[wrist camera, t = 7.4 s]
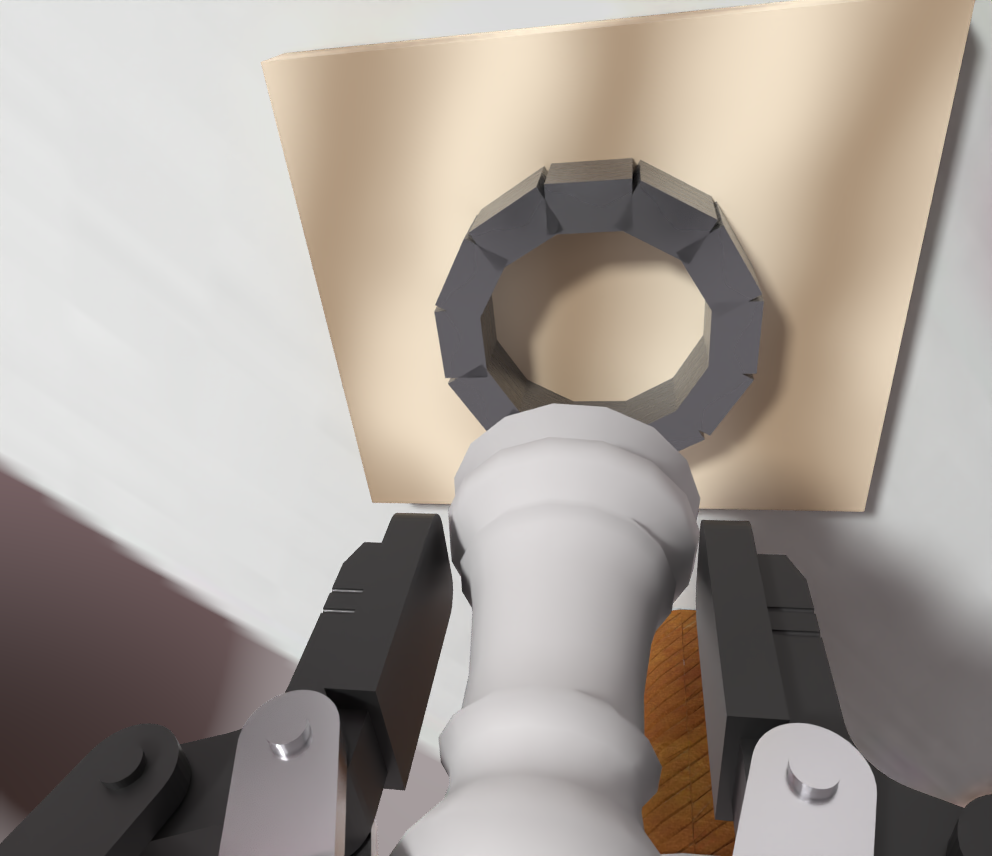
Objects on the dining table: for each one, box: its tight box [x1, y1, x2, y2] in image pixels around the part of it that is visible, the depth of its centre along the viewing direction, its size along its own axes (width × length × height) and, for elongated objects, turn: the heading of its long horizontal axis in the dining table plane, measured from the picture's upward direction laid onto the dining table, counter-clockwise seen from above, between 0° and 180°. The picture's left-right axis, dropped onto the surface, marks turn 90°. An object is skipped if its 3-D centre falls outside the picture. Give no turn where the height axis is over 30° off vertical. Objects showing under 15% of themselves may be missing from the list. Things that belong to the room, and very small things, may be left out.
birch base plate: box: [261, 0, 975, 512], centre depth 21 cm, size 16×14×2 cm
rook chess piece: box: [390, 403, 700, 856], centre depth 11 cm, size 4×4×8 cm
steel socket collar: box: [434, 158, 764, 451], centre depth 20 cm, size 8×8×2 cm
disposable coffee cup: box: [642, 610, 736, 856], centre depth 25 cm, size 10×10×12 cm
